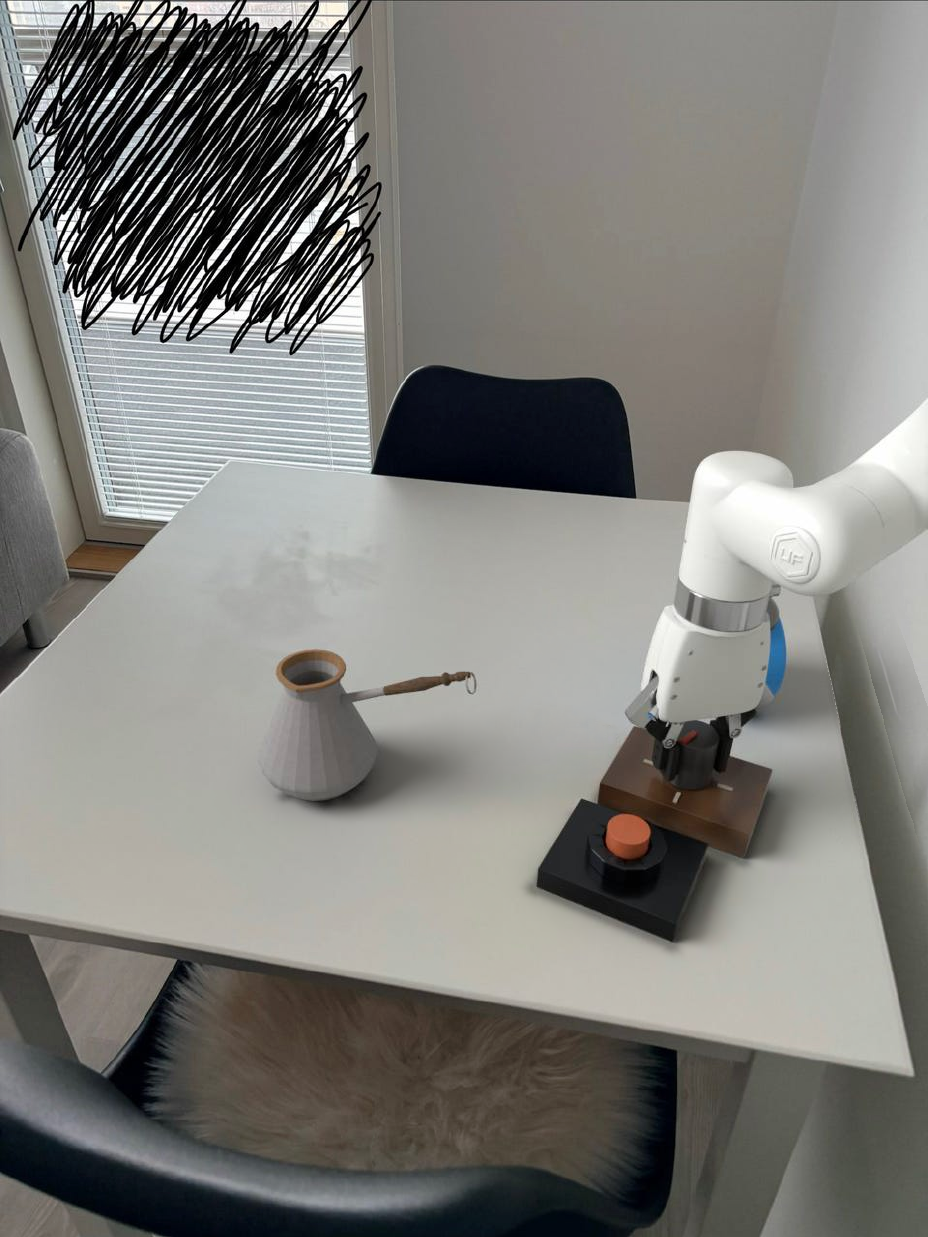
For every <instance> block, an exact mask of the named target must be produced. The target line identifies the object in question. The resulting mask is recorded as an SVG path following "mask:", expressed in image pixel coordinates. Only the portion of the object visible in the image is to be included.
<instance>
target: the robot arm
mask: <svg viewBox="0 0 928 1237" xmlns="http://www.w3.org/2000/svg"><path fill="white" fill-rule="evenodd" d="M687 512H688V513H687V518H686V525H685V531H684V537H683V544H682V548H681V556H680V562H679V568H678V569H679V570H678V575H677V582H676V588H675V594H674V600H673V604H670V605H665V606H664V608H663V611H662V612H661V614H660V616H659V618H658V620H657V623H656V626H655V628H654V631H653V634H652V637H651V640H650V643H649V646H648V647H649V648H648V651H647V655H646V659H645V663H644V668H643V673H642V678H641V684H640V693H639V694H638V695H637V696H636V697H635V699H634V700H633V701H632V702H631V703H630V704H629V705H628V706H627V708H625V710H624V715H625V716H626V718H627V719H628V721H629V722H630V723H631V724H632V725H633V726H636V727H639V728H642V729H645V730H647V731H648V732H649V733H650V734H651V735H652V736H653V737H654V738H655V741H654V747H653V754H652V762H653V765H654V766H655V768H656V769H657V770H658V769H659V771H660V772H661V774H662V775H663V777H664V778H665V780H666V781H667V782H668V781H673V780H674V779H675V775H676V770H677V764H678V759H679V753H680V748H679V746H678V745H677V743H676V741H677V739H678V737H679V734H680V732H681V730H682V727H683V725H684V723H685V721H693V720H699V721H701V720H706V719H711V720H710V721H709V723H708V724H709V725H711V726H712V727H714V728H715V729H716V730H717V732H718V733H719V736H720V740H719V745H718V749H717V754H716V759H715V764H714V769H715V771H716V772H718V773H722V772H725V770H726V766H727V761H728V758H729V756H731V752H732V747H733V743H734V739H737V738H738V737H740V736H741V734H742V728H743V727H744V726H745V725H747V724H748V723H749V722H750V721H751V720H752V719H753V718H754V717H755V716H756V715H757V712H760V711H762V710H763V709H765V708H766V707H767V706H769V705H770V704H771V703H773V702H774V700H775V696H774V695H773V694H772V692H771V691H770V689H769V687H768V686H767V684H766V683H765V681H766V676H767V670H768V663H769V654H770V618H769V615H768V613H767V612H766V610H767V606H768V602H769V599H770V598H772V599H773V597H779V596H780V594H781V591H782V588H784V589H786V590H788V591H789V592H792V593H794V594H797V595H801V596H805V597H824V596H828V595H831V594H834V593H836V592H838V591H841V589H844V588H845V587H847V586H849V585H850V584H851V583H853V582H854V581H855V580H857V579H858V578H860V577H861V576H862V575H864V574H865V573H867V572H869V571H870V570H871V569H873V567H876V565H878V564H879V563H881V562H883V561H884V560H885V559H887V558H888V557H890V556H891V555H893V554H895V553H896V552H898V551H899V550H901V549H902V548H903V547H905V546H906V545H908V544H909V543H910V542H912V541H913V540H914V539H916V538H917V537H919V536H920V535H922V534H923V533H925V532H927V530H928V397H926V399H925V400H924V401H923V402H922V403H921V404H920V405H919V406H918V407H917V408H916V409H915V410H914V411H913V412H912V413H911V414H910V415H908V416H907V417H906V418H905V419H904V420H903V421H901V423H900V424H898V425H897V426H896V427H895V428H893V430H892V431H890V432H889V433H888V434H886V436H884V437H883V438H882V439H881V440H879V441H878V442H877V443H876V444H875V445H873V446H872V447H870V449H869V450H867V451H865V453H864V454H863V455H861V456H860V457H859V458H857V459H856V460H854V462H852V463H850V464H849V465H848V466H846V467H845V468H843V469H842V470H840V471H838V472H835V473H834V474H831V475H829V476H828V477H825V478H823V479H821V480H820V481H817V482H816V483H813V484H811V485H805V486H799V487H798V486H797V487H795V486H794V477H793V473H792V471H791V469H790V468H789V467H788V466H787V465H786V464H785V463H784V462H782V461H781V460H779V459H777V458H775V457H773V456H770V455H767V454H763V453H759V452H755V451H749V450H747V451H746V450H726V451H718V452H714V453H712V454H709V455H708V456H706V457H705V458H703V459H702V460H701V461H700V463H699V464H698V466H697V467H696V470H695V472H694V476H693V481H692V487H691V494H690V499H689V506H688V511H687ZM781 587H782V588H781ZM655 706H656V708H657V710H656V713H655V715H653V714H652V713H651V712H652V710H653V709H654V708H655ZM712 718H715V719H712Z"/></svg>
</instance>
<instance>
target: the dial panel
mask: <svg viewBox="0 0 928 1237" xmlns="http://www.w3.org/2000/svg"><path fill="white" fill-rule="evenodd" d="M654 741H655V738H654V737H653V736H652V735H651V734H650V733H649V732H648V731H647V730H645V729H642V728H640V727H638V726H636V725H633V727H632V728H631V730H630V732H629V733H628V735H627V736H626V738H625V740H624V741H623V743H622V744H621V747H620V748H619V750H618V752H617V753H616V755H615V756H614V758H613V759H612V761H611V763H610V765H609V767H608V769H607V770H606V771H605V773H604V775H603V777H602V778H601V780H600V782H599V786H598V788H599V789H598V796H597V802H596V804H599V805H602V806H605V807H607V808H610V809H613V810H616V811H619V812H621V813H624V814H631V815H634V816H637V817H640V818H643V819H645V820H648V821H650V822H651V823H652V824H655V825H658V826H661V827H663V828H666V829H669V830H672V831H675V832H677V833H680V834H683V835H686V836H689V837H691V838H694V839H697V840H700V841H703V842H705V843H708V844H709V845H708V847H711V848H713V849H716V850H719V851H722V852H724V853H728V854H729V855H733V856H736V857H739V858H741V859H745V857H746V854H747V852H748V849H749V846H750V844H751V843H750V842H751V839H752V837H753V834H754V831H755V828H756V826H757V822H758V819H759V816H760V814H761V811H762V808H763V805H764V802H765V801H766V800H765V799H766V796H767V794H768V790H769V786H770V782H771V778H772V774H773V768H770V767H766V766H764V765H760V764H757V763H754V762H751V761H747V760H744V759H741V758H738V757H735V756H731V755H730V756H729V758H728V761H727V766H726V770H725V772H722V773H718V772H716V771H715V769H713V773H712V778H711V782H710V784H709V785H708V786H707V787H705V788H704V789H701V790H685V789H681V788H679V787H676V786H674V785H673V784H671V783H670V782H669V781H668V782H667V781H666V780H665V778H664V777H663V775H662V774H661V772H660V771H659V769H658V770H657V769H656V768H655V766H654V765H653V762H652V754H653V747H654Z"/></svg>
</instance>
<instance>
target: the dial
mask: <svg viewBox="0 0 928 1237" xmlns="http://www.w3.org/2000/svg"><path fill="white" fill-rule="evenodd" d="M709 724H710V723H708V722H705V721H703V720H702V721H701V720H693V721H685V723H684V725H683V727H682V730H681V732H680V734H679V737H678V739H677V741H676V743H677V745H678V746H679V748H680V753H679V759H678V764H677V770H676V775H675V779H674V780H673V781H669V782H670V783H671V784H673V785H674V786H676V787H679V788H681V789H685V790H701V789H704V788H705V787H707V786H708V785H709V784H710V782H711V778H712V773H713V769H714V764H715V759H716V754H717V749H718V745H719V740H720V736H719V733H718V732H717V730H716V729H715V728H714V727H712V726H711V725H709Z"/></svg>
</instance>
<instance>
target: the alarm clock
mask: <svg viewBox="0 0 928 1237" xmlns="http://www.w3.org/2000/svg"><path fill="white" fill-rule="evenodd" d="M766 612H767V613H768V615H769V618H770V654H769V663H768V670H767V676H766V681H765V683H766V684H767V686H768V687H769V689H770V691H771V692H772V694H773V695H774V697H775V696H776V695H777V694H778V692H779V691H780V689H781V686H782V683H783V681H784V677H785V673H786V666H787V642H786V635H785V630H784V626H783V622H782V620H781V617H780V610H779V606H778V605H777V603H776V601H775V600H774V598H773V597H772V598H770V599H769V602H768V606H767V610H766Z"/></svg>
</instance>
